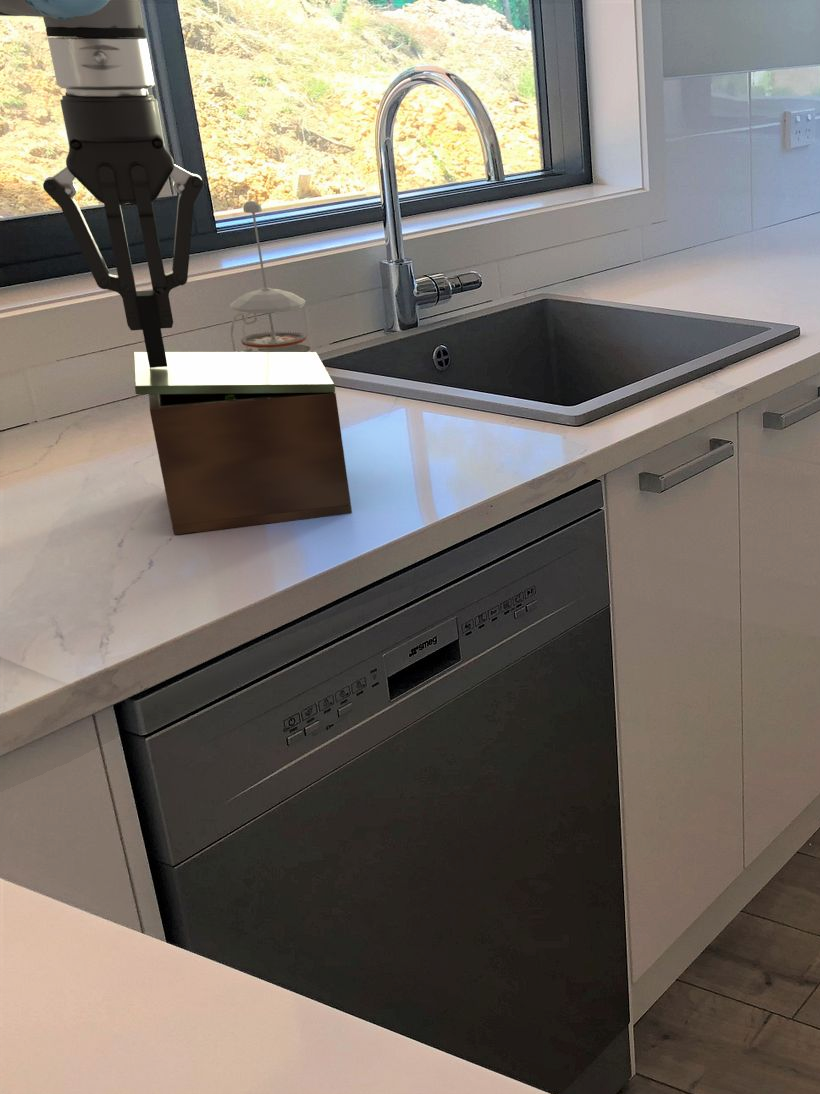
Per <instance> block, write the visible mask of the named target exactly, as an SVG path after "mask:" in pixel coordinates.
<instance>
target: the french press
mask: <svg viewBox="0 0 820 1094" xmlns="http://www.w3.org/2000/svg"><path fill="white" fill-rule="evenodd" d="M242 207H243V208H242V209H243V212H244V213H246V214H247V213H248V214H252V220H253V225H254V232H255V239H256V244H257V251H258V257H259V262H260V268H261V269H260V270H261V276H262V282H263V287H260V289H257V290H253V291H247V292H246V293H244V294H243V295H241V296H239V297H237V298H236V299H235V300H233V302H231V303H229V304H230V305H229V306H230V308H231V309H232V310H234V311H236V312H238V313H237V314H236V315H234V317H233V319H232V320H231V324H230V339H231V343H232V350H233V352H238V351H237V347H236V345H235V339H234V327H235V322H236V320H237V318H238V317H240V316H241V319H242V322H243V325H242V335H243V337H242V338H241V339H240V343H241V345H243V346H244V347H245V349H244V350H242V351H241V352H254V351H253V348H257V350H258V351H257V352H312V348H311V346H308V345H306V344H301V343H304V342H305V341H306V340H307V335H306V334H305V333H302V332H299V331H289V330H288V331H286V330H285V332H284V331H283V330H282V331H278V330H276V331H275V330H274V323H273V318H272V314H275V313H277V314H278V313H283V312H291V311H295V310H299V309H302V308H304V307H305V305H306V300H305V299H304V298H302V297H301V296H299V295H297V294H295V293H293V292H291V291H288V290H283V289H280V288H272V287H268V286H267V282H266V276H265V275H266V274H265V269H264V263H263V262H264V261H263V256H262V251H261V244H260V238H259V232H258V231H259V230H258V226H257V221H256V213H262V212H263V209H262V206H261V205H260V203H259V202H257V201H253V200H250V201H247V202H245V203H244V205H243V206H242ZM244 313H246V315H244ZM251 314H253V316H254V320H253V321H247V320H248V318H249V315H251ZM257 314H268V318H269V324H270V332H269V331H267V332H266V331H264V332H256V333H252V334H251V333H250V334H248V335H247V334H246V333H247V332H246V327H247V326H246V325H248V326H249V325H253V324H255V323H256V322H257V320H258V318H257V316H258V315H257Z"/></svg>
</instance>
